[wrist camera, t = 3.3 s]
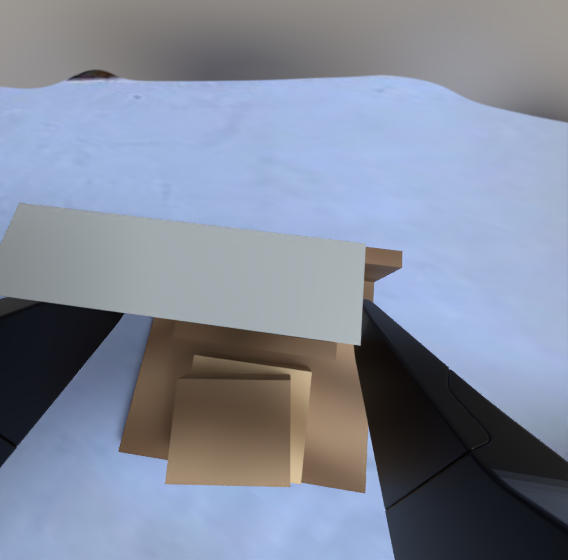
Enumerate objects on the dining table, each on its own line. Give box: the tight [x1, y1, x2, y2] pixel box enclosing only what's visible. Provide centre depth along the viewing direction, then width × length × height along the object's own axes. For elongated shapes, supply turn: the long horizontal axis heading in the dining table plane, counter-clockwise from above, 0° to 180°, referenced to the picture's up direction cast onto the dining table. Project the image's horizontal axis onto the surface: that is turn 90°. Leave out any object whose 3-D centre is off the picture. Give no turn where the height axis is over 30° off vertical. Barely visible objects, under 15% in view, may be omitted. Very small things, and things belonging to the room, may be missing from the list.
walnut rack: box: [118, 247, 402, 493], centre depth 14 cm, size 14×16×5 cm
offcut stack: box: [165, 352, 312, 487], centre depth 13 cm, size 6×8×3 cm
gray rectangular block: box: [0, 203, 366, 346], centre depth 9 cm, size 2×6×12 cm, turn 82°
